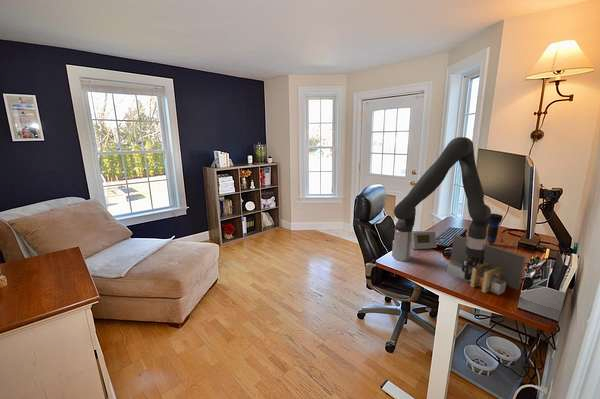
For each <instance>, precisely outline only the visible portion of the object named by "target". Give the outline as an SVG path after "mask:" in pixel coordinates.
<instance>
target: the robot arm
mask: <svg viewBox="0 0 600 399" xmlns="http://www.w3.org/2000/svg"><path fill="white" fill-rule="evenodd" d="M474 148H475V147H474V142H473V141H472V139H470V138H469V137H464V136H459V137H455V138H453V139H451V140H450V142H448V144H446V147H445V148H444V149H443V150H442V152H441V154H440V155H439V157H438V158H437V159H436V161H434V163H433V164H431V166H430V167H429V168H428V169H427V170H426V171H425V172H424V173H423V174H422V175H421V177H420V178H419V179H418V180H417V182H416V183H415V184H414V186H412V188H411V189H410V191H409V192H408V193H407V195H406V196H405V197H403V199H402V200H401V201H399V202H398V203H397V204H395V207H394V209H393V215H394V217H395V218H396V219H397V222H396V223H395V226H394V239H393V240H392V249H391V256H392V257H393V258H394V260H396V261H401V262H407V261H410V259H411V252H412V232H413V231H414V230H413V229H414V226H415V222H416V212H417V211H416V210H417V209H416V207H417V206H418V205H419V204H420V203H421V202H423V201H424V200H426V199H427V198H428V197H429V196H430V195H431V194H433V193H434V192H435V191H436V190H437V188H438V187H439V186H440V185H441V184H442V183H443V181H444V180H445V178H446V176H447V175H448V172H449V171H450V170H451V168H452V167H453V166H455V164H456V163H457V162H458V163H459V166H460V170H461V180H462V188H463V191H464V194H465V197H466V200H467V209H468V214H469V217H470V218H471V219H472V220H471V224H470V225H469V227H468V233H467V237H466V238H467V242H466V249H465V254H466V255H467V256H468V257H467V260H466V261H464V260H463V261H462V272H465V275H464V279H465V280H464V279H463V280H464V281H466V280H467V281H466V282H469V281H468V280H470V273H471V270H473V267H475V266H478V265H480V263H481V264H483V261H484V251H485V245H486V242H487V239H486V238H487V233H488V226H489V224H488V223H489V220H490V216H491V213H492V211H491V207H489V205H487V204H485V200H484V198H485V192H484V188H483V186H482V182H481V180H480V176H479V172H478V169H477V164H476V159H475V149H474ZM469 266H471V267H469ZM464 268H465V269H464Z"/></svg>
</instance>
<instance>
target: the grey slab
mask: <svg viewBox="0 0 600 399" xmlns="http://www.w3.org/2000/svg"><path fill="white" fill-rule="evenodd" d="M446 268H447V269H446V272H447V273H449V274H450V275H453V276H455V277H458V278H460V279H462V280H464V281H466V282H469V283H471V276H472V270H471V273H470V280H468V281H467V280H465V279H464V275H465V272H462V264H461V263H458V262H456V261H452V262H450V261H449V262H447V267H446ZM464 269H465V268H464ZM483 278H484V273H483V272H481V271H479V273H478V280H477V287H479V288H482V285H483ZM506 287H507V285H506V282H505V281H503V280H501V279H498V278H496V277H493V276H491V277H490V283H489V289H488V292H491V293H493V294H496V295H497V296H499V295H501V294H503V293H505V292H506Z"/></svg>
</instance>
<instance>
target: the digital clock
mask: <svg viewBox="0 0 600 399" xmlns="http://www.w3.org/2000/svg"><path fill="white" fill-rule="evenodd" d="M437 247H438V245H437V233H436V231H435V230H416V231H412V242H411V249H413V250H429V249H437Z"/></svg>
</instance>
